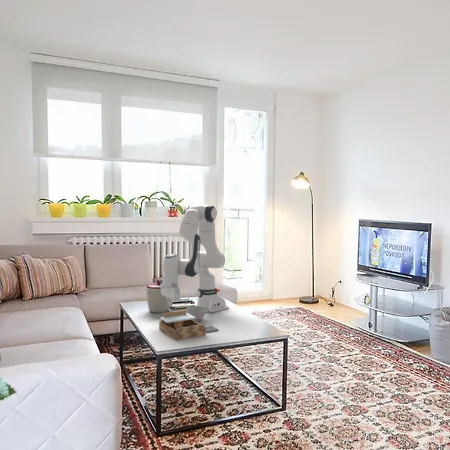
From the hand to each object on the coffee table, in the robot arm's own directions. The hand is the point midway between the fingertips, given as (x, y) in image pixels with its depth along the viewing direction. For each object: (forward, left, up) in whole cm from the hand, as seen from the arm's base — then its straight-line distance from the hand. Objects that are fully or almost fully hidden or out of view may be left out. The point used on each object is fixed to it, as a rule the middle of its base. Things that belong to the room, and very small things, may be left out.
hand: (170, 305), depth 258 cm
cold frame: (0, +15, -12) cm, 19 cm away
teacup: (-19, -2, -12) cm, 23 cm away
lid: (0, +10, -5) cm, 12 cm away
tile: (-15, +19, -12) cm, 27 cm away
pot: (0, +10, -12) cm, 16 cm away
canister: (-6, -32, -12) cm, 34 cm away
